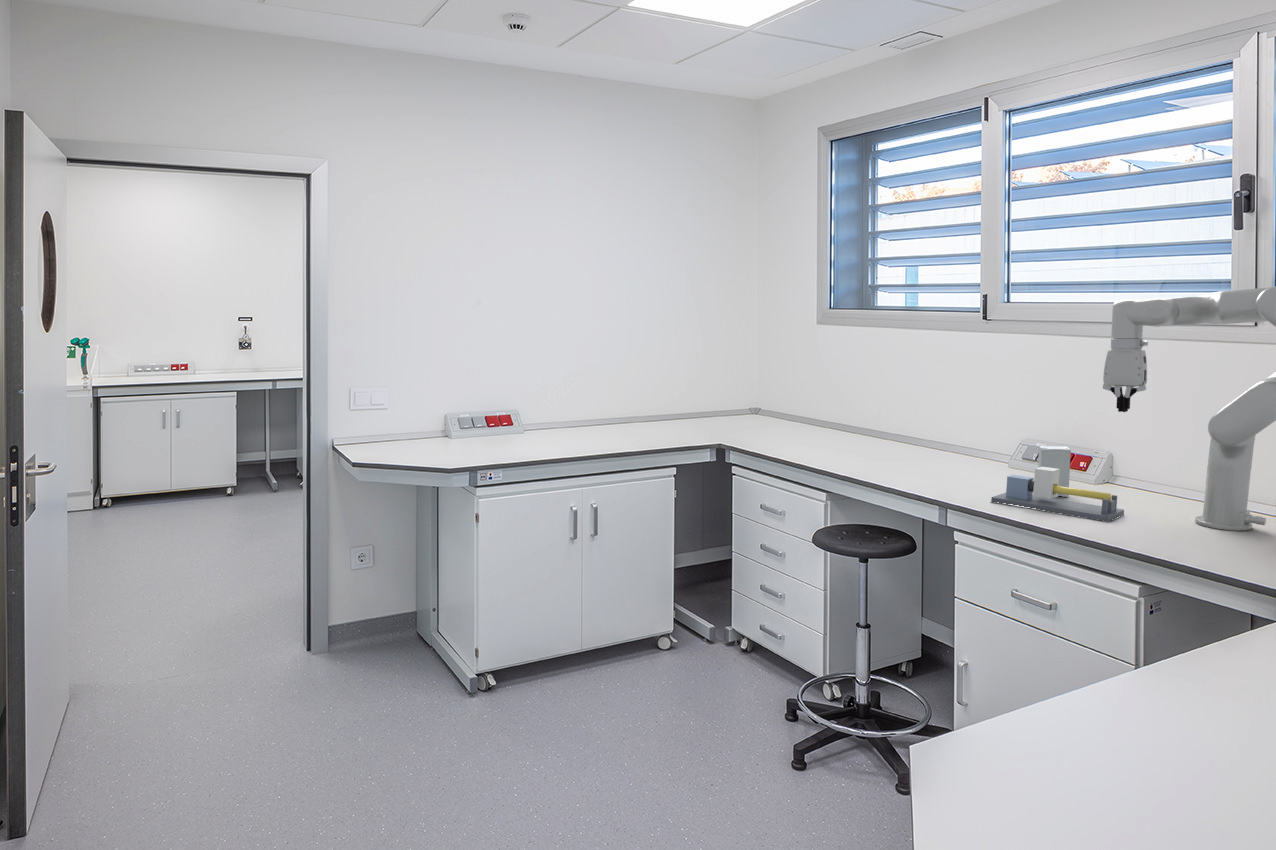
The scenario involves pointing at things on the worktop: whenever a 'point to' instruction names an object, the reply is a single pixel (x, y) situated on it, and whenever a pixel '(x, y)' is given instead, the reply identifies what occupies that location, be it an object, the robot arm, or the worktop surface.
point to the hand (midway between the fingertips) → (1122, 411)
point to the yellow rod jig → (1058, 500)
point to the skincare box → (1056, 462)
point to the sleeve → (1045, 482)
